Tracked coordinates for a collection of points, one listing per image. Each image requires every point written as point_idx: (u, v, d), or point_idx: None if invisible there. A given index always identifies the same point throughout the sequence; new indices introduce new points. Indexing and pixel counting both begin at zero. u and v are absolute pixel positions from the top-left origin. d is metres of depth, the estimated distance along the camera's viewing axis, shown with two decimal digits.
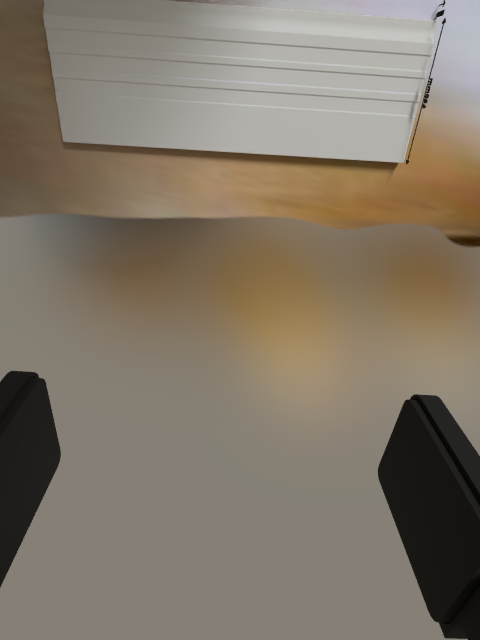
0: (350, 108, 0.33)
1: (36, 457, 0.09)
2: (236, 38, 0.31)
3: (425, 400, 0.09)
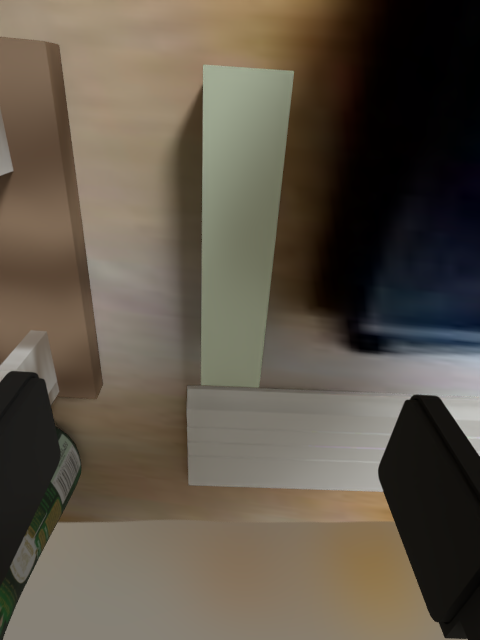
0: None
1: (36, 457, 0.09)
2: (384, 422, 0.29)
3: (425, 400, 0.09)
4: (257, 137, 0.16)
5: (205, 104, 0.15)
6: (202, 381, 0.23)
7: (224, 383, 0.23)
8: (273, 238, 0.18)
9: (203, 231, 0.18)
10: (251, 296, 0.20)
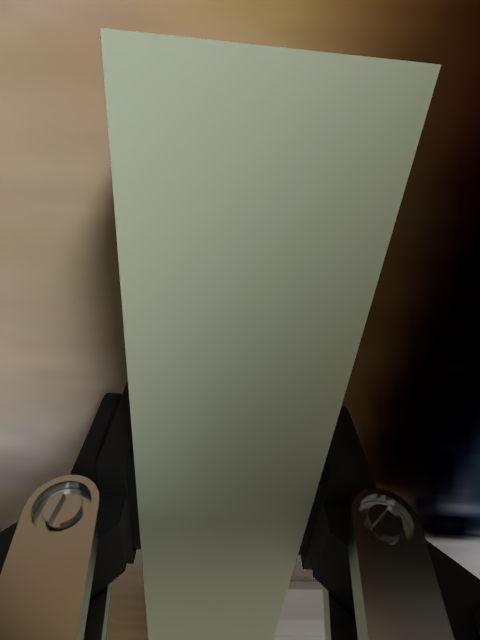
0: None
1: None
2: None
3: None
4: (290, 269, 0.05)
5: (120, 170, 0.04)
6: None
7: None
8: (314, 481, 0.07)
9: (138, 468, 0.07)
10: (253, 568, 0.09)
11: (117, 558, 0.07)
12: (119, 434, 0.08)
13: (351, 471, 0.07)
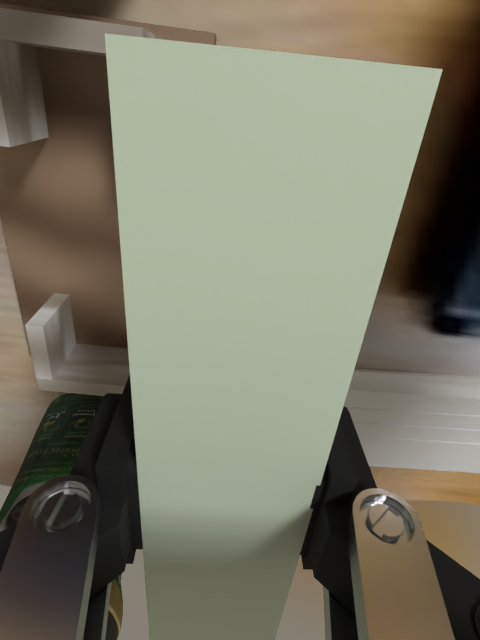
0: None
1: None
2: (453, 403, 0.31)
3: None
4: (293, 271, 0.05)
5: (123, 173, 0.04)
6: None
7: None
8: (315, 483, 0.07)
9: (140, 469, 0.07)
10: (255, 569, 0.09)
11: (116, 558, 0.07)
12: (118, 434, 0.08)
13: (351, 471, 0.07)
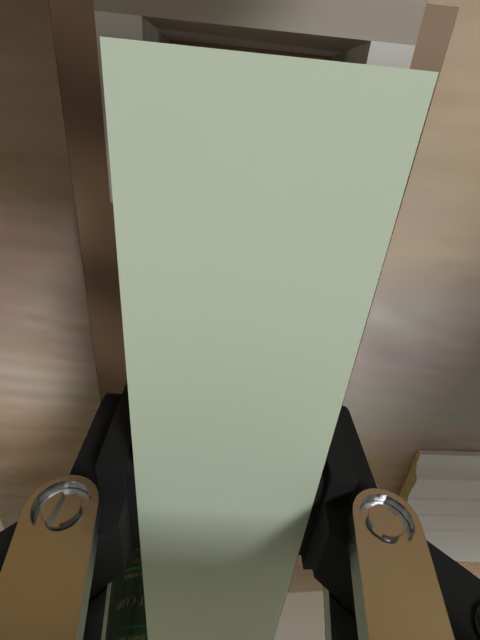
0: None
1: None
2: None
3: None
4: (289, 274, 0.05)
5: (119, 176, 0.04)
6: None
7: None
8: (313, 485, 0.07)
9: (138, 471, 0.07)
10: (253, 570, 0.09)
11: (116, 558, 0.07)
12: (118, 434, 0.08)
13: (351, 471, 0.07)
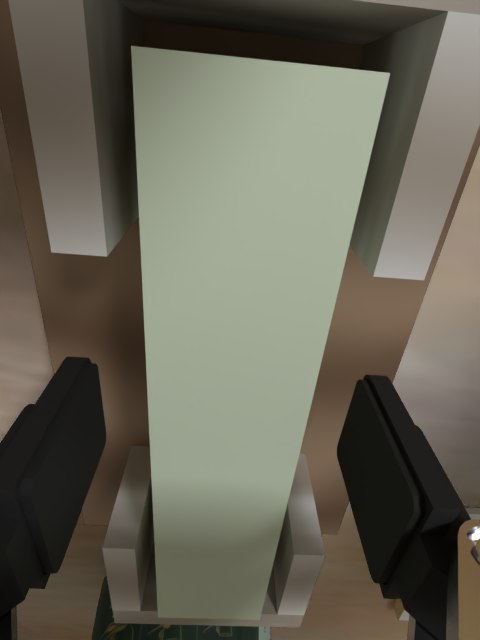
0: None
1: (90, 437, 0.10)
2: None
3: (374, 379, 0.10)
4: (278, 237, 0.06)
5: (143, 155, 0.06)
6: (160, 613, 0.13)
7: (198, 615, 0.13)
8: (301, 426, 0.09)
9: (151, 413, 0.08)
10: (250, 511, 0.10)
11: (11, 587, 0.07)
12: (17, 452, 0.07)
13: (451, 501, 0.07)
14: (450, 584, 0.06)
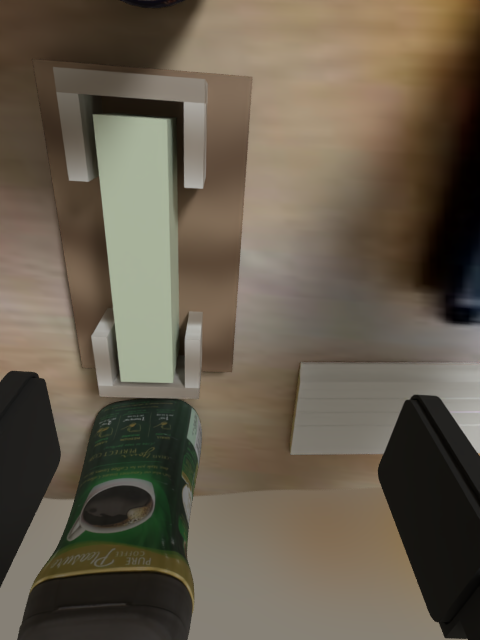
0: None
1: (36, 457, 0.09)
2: (466, 387, 0.34)
3: (425, 400, 0.09)
4: (144, 171, 0.20)
5: (98, 144, 0.19)
6: (122, 378, 0.26)
7: (141, 379, 0.26)
8: (168, 252, 0.22)
9: (107, 247, 0.21)
10: (155, 302, 0.23)
11: None
12: None
13: None
14: None
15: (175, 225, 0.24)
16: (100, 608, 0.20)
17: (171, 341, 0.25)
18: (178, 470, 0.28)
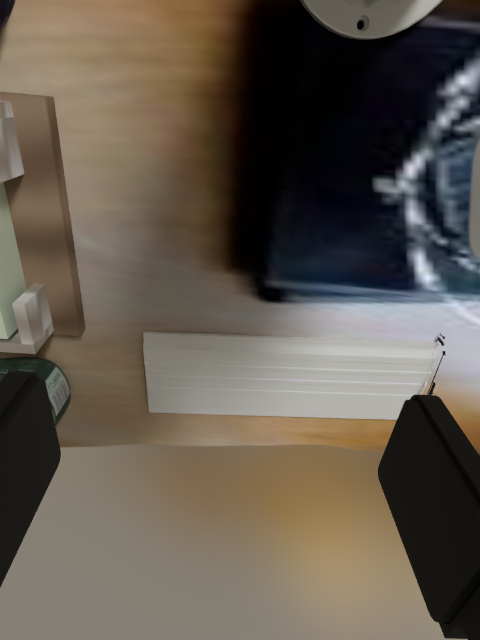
0: (372, 391, 0.43)
1: (36, 457, 0.09)
2: (287, 358, 0.40)
3: (425, 400, 0.09)
4: None
5: None
6: None
7: None
8: None
9: None
10: None
11: None
12: None
13: None
14: None
15: None
16: None
17: None
18: None
